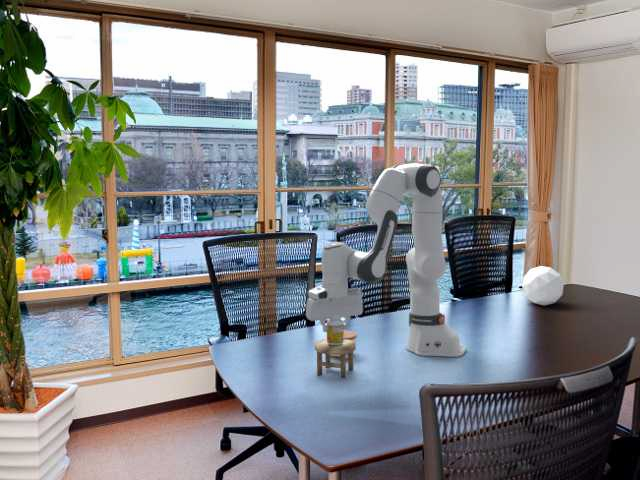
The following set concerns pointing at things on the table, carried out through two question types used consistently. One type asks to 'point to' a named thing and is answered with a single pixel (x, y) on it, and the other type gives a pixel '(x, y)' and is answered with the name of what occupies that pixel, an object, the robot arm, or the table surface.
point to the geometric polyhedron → (543, 285)
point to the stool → (335, 355)
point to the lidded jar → (349, 336)
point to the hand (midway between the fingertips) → (335, 330)
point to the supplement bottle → (335, 331)
